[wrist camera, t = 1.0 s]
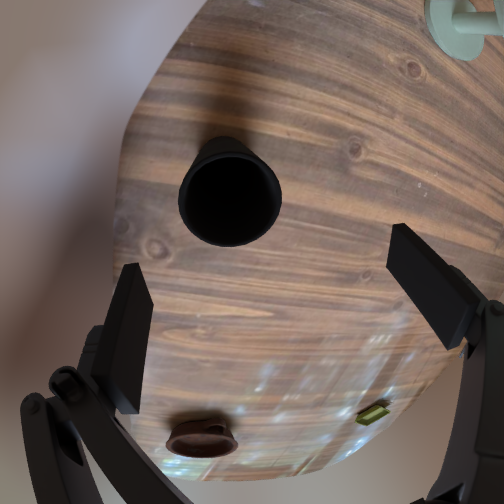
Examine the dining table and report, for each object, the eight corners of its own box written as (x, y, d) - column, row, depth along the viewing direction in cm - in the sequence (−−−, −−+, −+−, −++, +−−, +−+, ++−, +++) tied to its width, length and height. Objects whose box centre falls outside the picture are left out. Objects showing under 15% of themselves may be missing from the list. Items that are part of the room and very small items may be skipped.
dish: (158, 440, 67) (157, 456, 62) (177, 406, 57) (177, 426, 53) (218, 448, 72) (220, 463, 68) (251, 417, 63) (254, 435, 58)
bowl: (401, -41, 19) (506, -71, 4) (482, -7, 20) (577, -2, 4) (413, 66, 28) (535, 87, 12) (490, 85, 29) (587, 118, 13)
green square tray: (389, 406, 73) (391, 412, 71) (364, 421, 76) (366, 426, 74) (378, 401, 69) (381, 407, 67) (351, 416, 72) (354, 422, 70)
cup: (242, 115, 30) (259, 134, 20) (268, 176, 34) (295, 223, 24) (176, 146, 30) (159, 181, 20) (207, 203, 35) (207, 261, 24)
